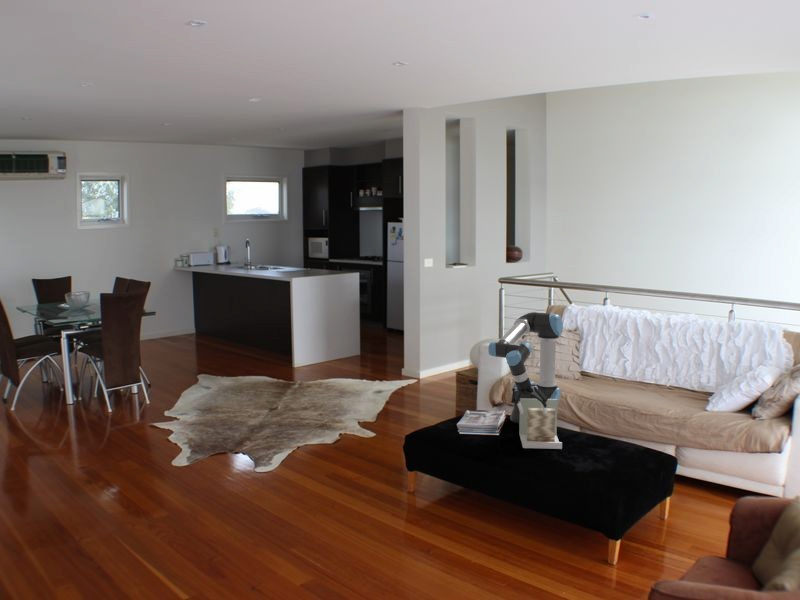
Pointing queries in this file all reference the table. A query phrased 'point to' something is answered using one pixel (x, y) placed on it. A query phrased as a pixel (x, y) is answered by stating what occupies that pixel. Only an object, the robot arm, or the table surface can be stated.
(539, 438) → the offcut slab top
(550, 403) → the tray with upright backboard
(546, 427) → the beige zigzag-marked block
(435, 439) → the table surface
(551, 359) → the robot arm
